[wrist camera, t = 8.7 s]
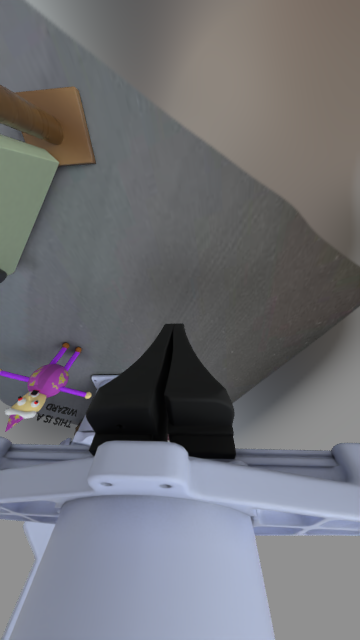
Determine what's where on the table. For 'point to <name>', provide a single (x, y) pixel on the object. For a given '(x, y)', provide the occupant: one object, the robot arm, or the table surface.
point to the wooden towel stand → (50, 122)
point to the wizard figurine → (43, 389)
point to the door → (20, 196)
